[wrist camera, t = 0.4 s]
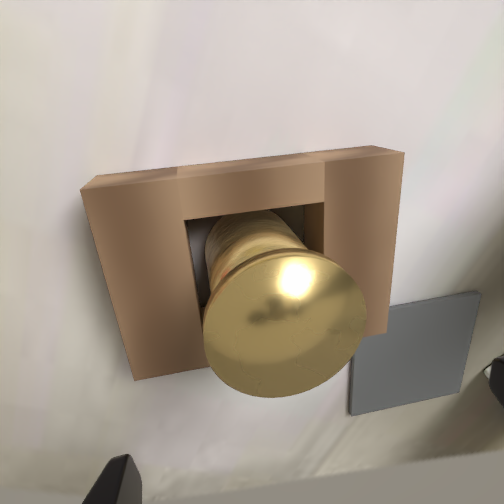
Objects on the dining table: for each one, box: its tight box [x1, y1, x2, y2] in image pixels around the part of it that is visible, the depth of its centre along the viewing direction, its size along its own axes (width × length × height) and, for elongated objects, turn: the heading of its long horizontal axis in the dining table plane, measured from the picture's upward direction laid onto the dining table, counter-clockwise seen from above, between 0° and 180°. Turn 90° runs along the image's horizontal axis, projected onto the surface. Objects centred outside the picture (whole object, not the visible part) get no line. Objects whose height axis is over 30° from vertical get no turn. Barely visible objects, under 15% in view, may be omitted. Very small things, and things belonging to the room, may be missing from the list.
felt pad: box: [349, 291, 481, 416], centre depth 25 cm, size 9×9×1 cm
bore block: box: [80, 145, 405, 381], centre depth 18 cm, size 14×10×3 cm
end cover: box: [203, 209, 366, 398], centre depth 16 cm, size 6×6×8 cm
